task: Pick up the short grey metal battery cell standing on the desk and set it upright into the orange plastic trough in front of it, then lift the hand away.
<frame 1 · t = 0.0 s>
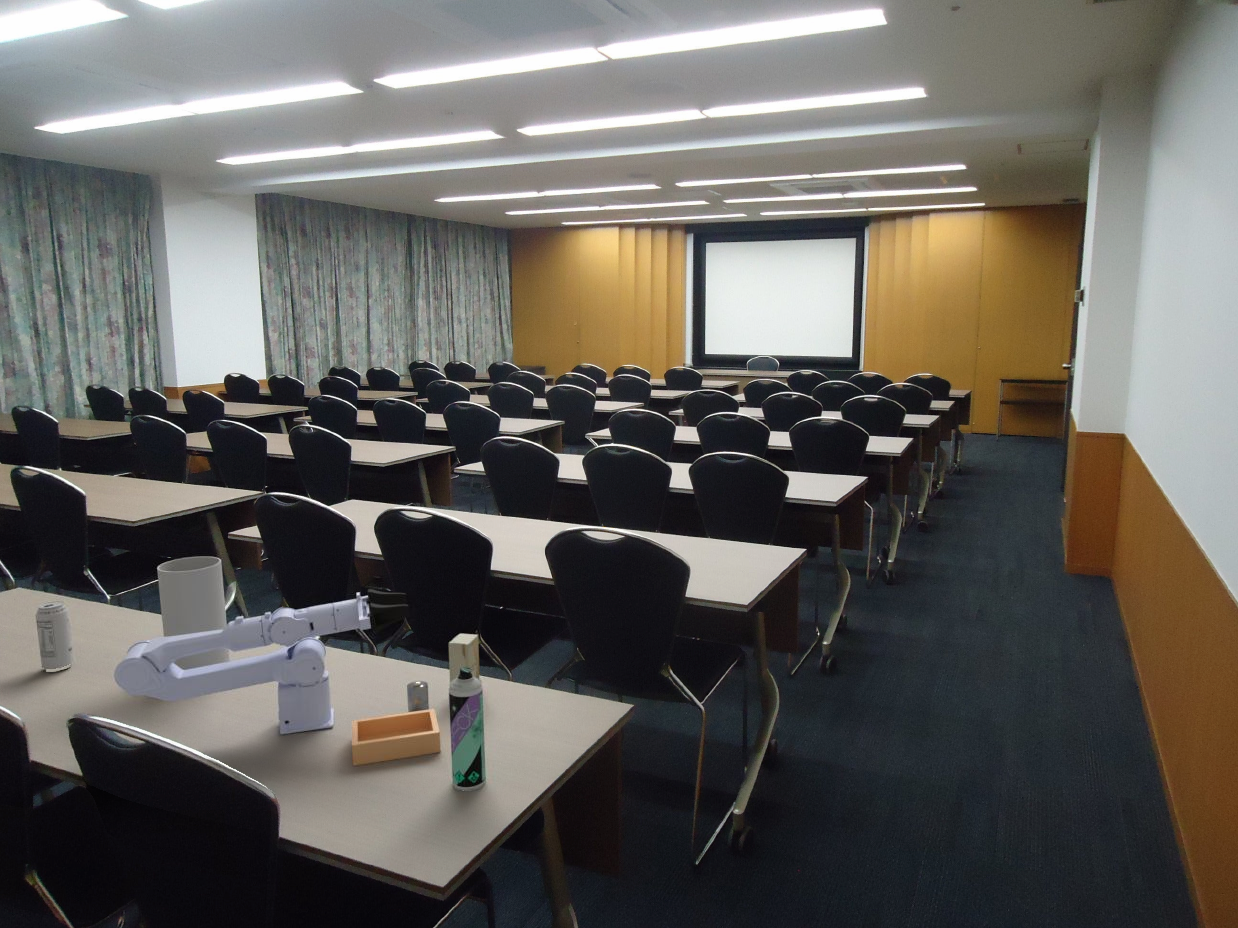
hand: (407, 604, 164), 22 cm above the table, tool horizontal, fingers open, 7 cm apart
skincare box: (465, 695, 173), on the table
energy drink can: (58, 669, 189), on the table
cell: (418, 713, 165), on the table
cylinder vase: (199, 673, 186), on the table
spray can: (469, 783, 139), on the table
trough: (396, 745, 152), on the table
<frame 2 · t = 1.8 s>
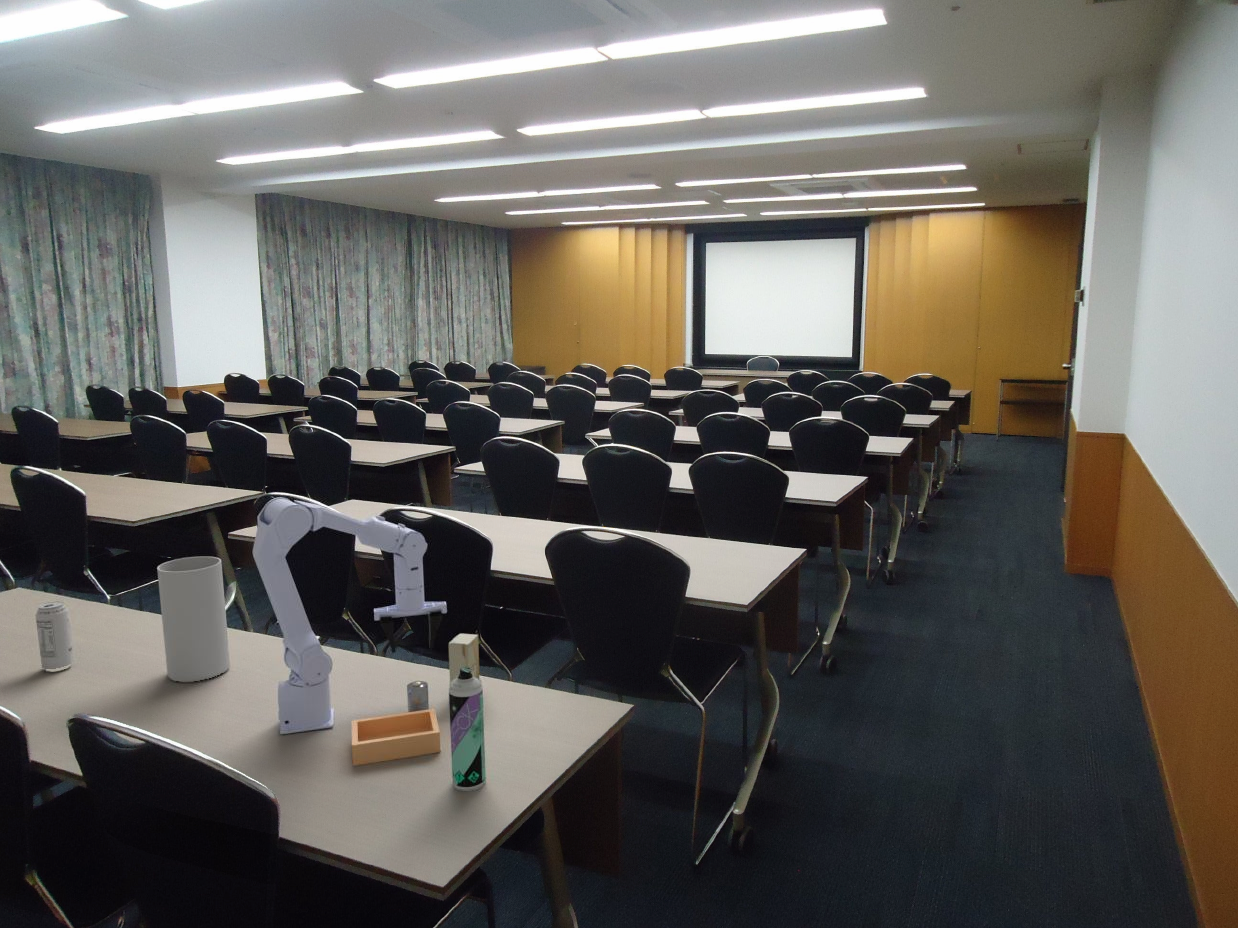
hand: (412, 648, 174), 9 cm above the table, tool pointing down, fingers open, 7 cm apart
nothing on the table moved.
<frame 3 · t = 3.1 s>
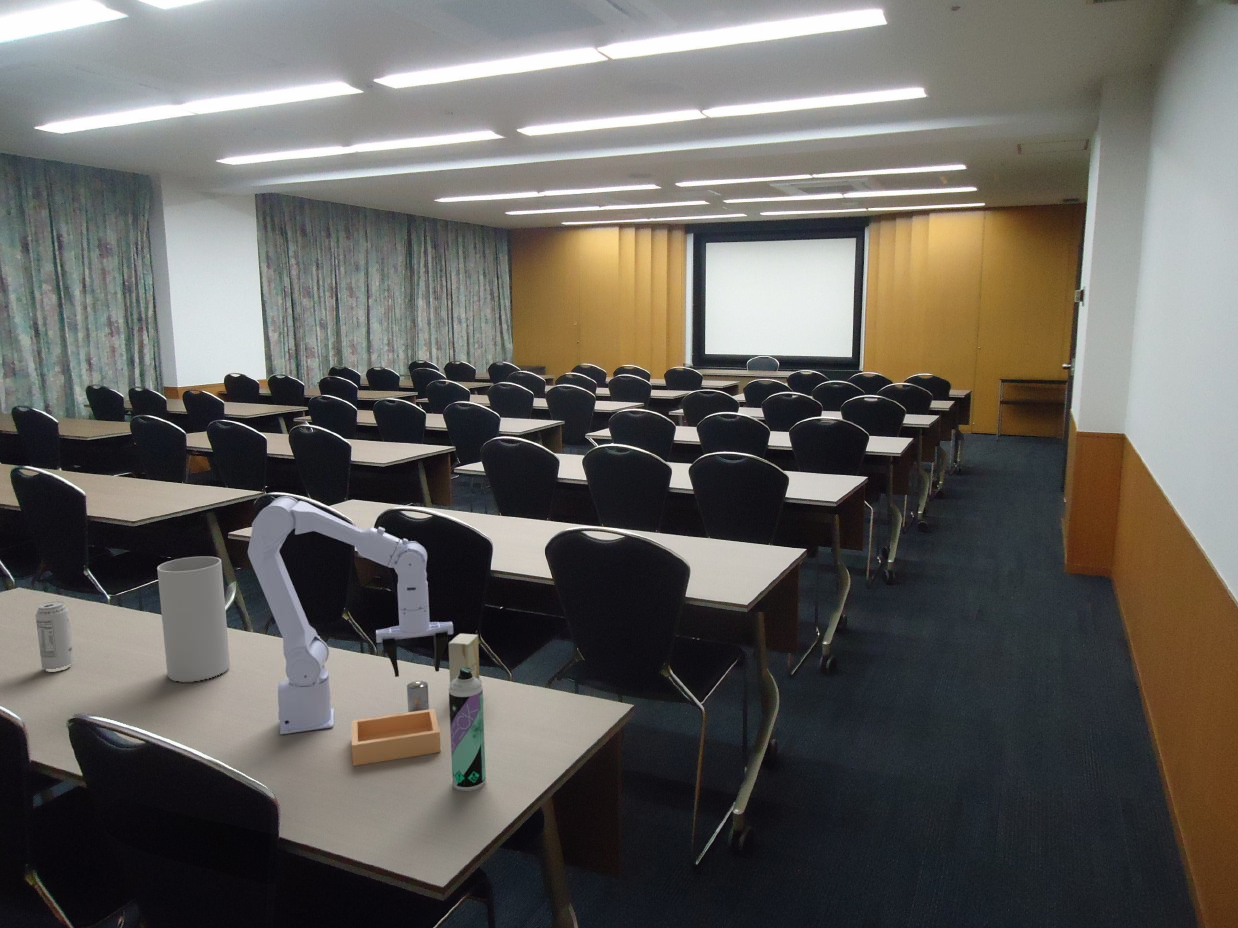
hand: (416, 672, 163), 9 cm above the table, tool pointing down, fingers open, 7 cm apart
nothing on the table moved.
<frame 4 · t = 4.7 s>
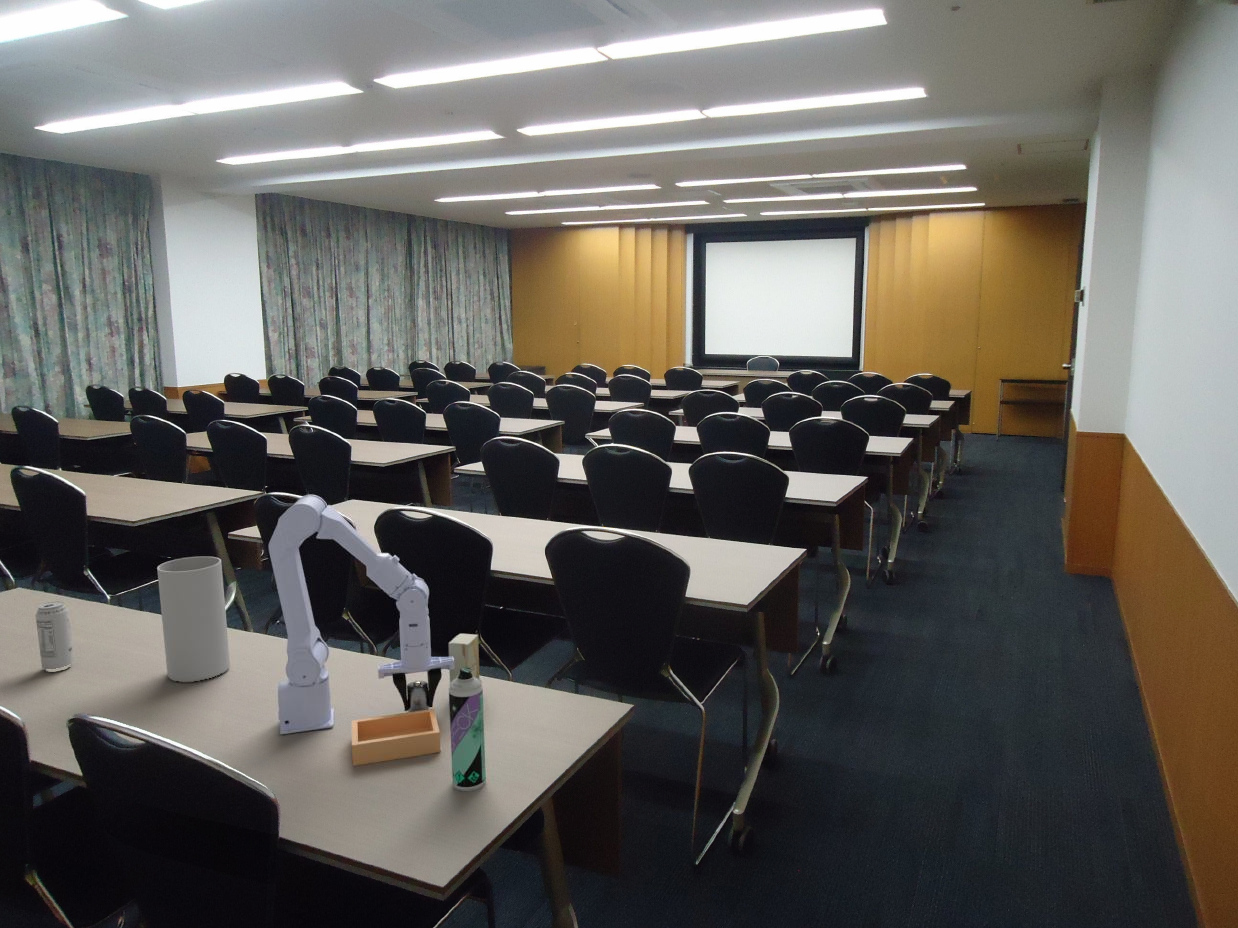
hand: (418, 706, 164), 1 cm above the table, tool pointing down, fingers closed on cell, 4 cm apart
cell: (418, 713, 165), on the table, touching gripper
everything else where it was.
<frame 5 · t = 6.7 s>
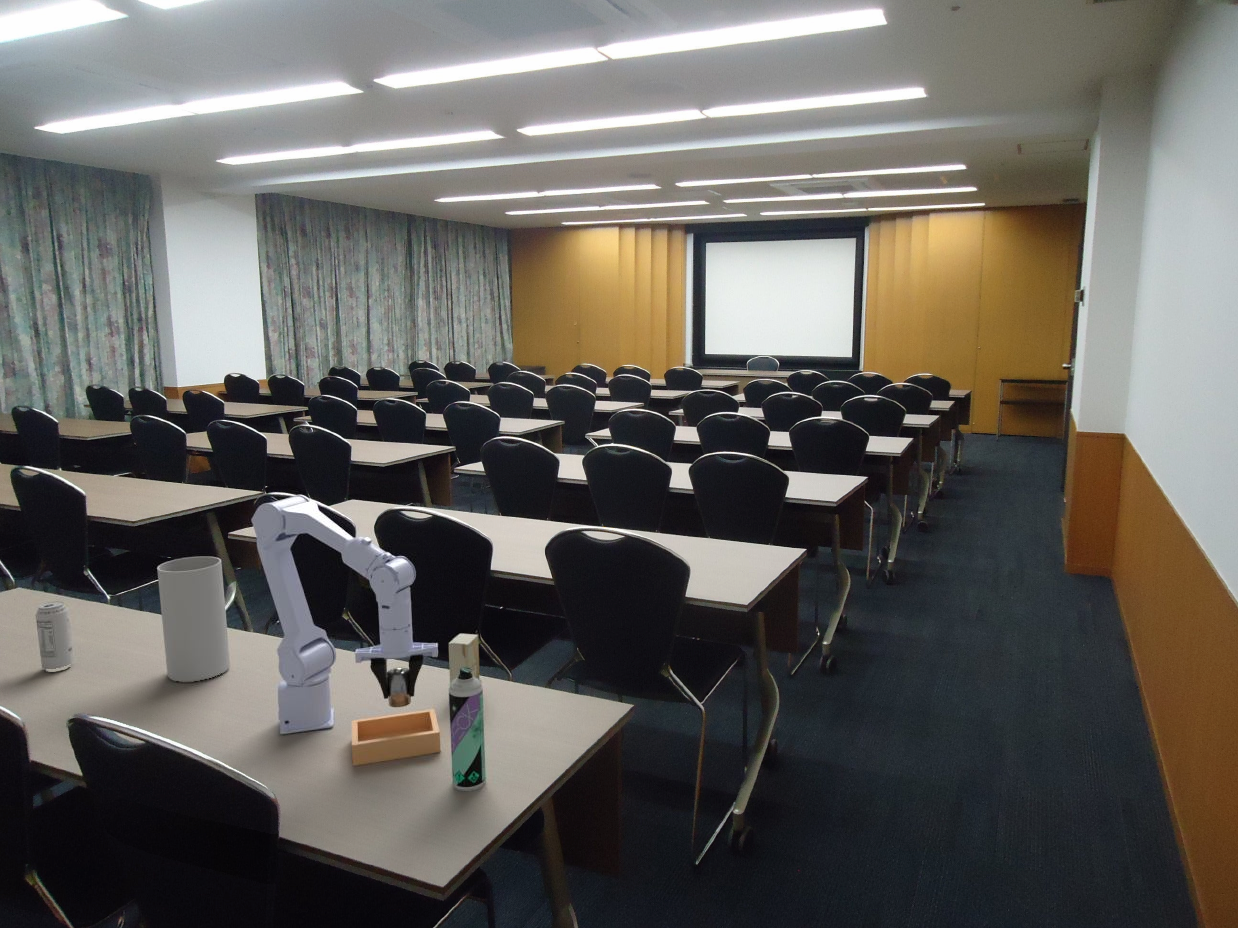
hand: (399, 695, 153), 8 cm above the table, tool pointing down, fingers closed on cell, 4 cm apart
cell: (399, 702, 154), point 7 cm above the table, touching gripper
everything else where it was.
when the fingers open (3 cm above the table, at t = 8.7 s): cell drops 1 cm, resting on trough.
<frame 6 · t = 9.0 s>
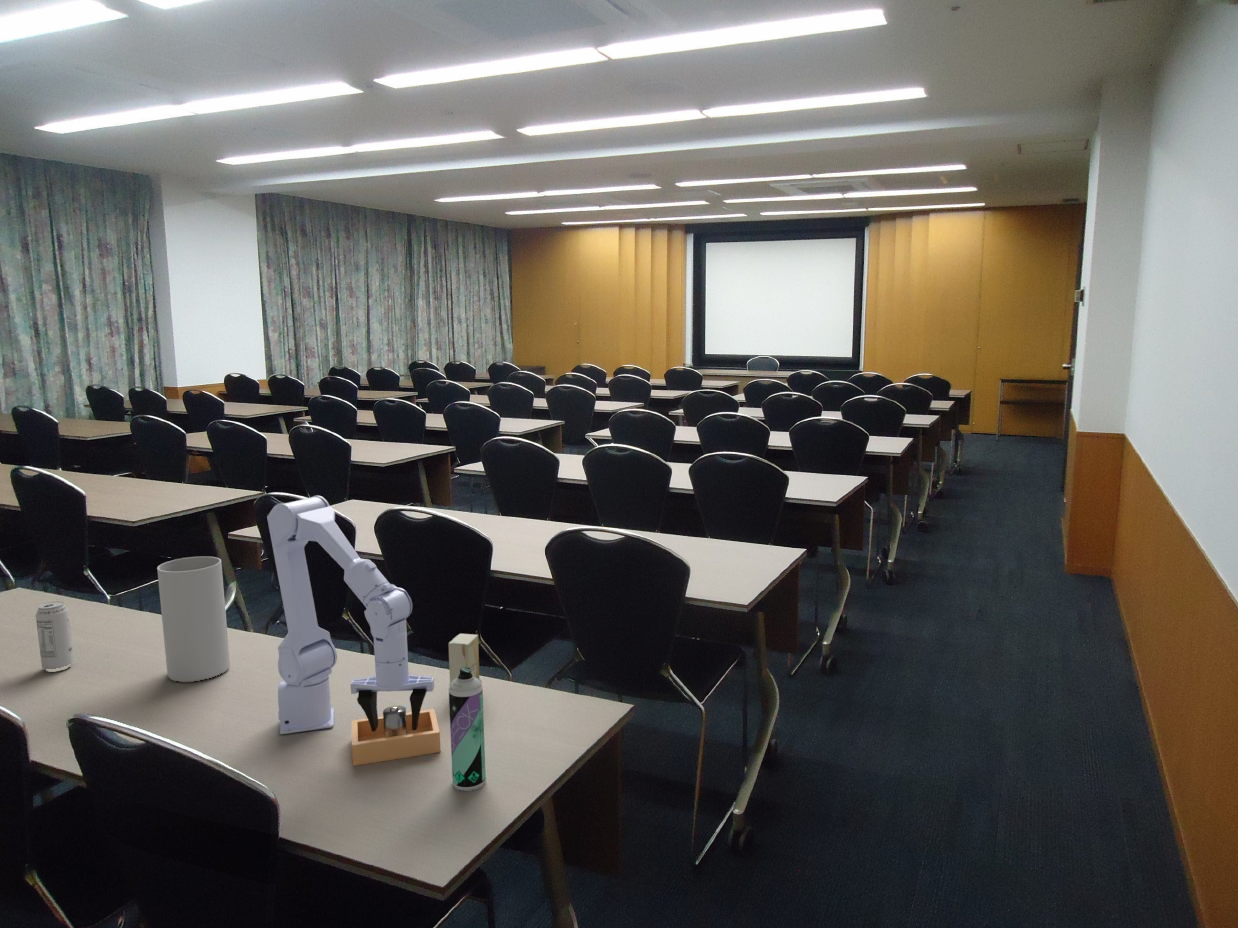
hand: (395, 728, 151), 3 cm above the table, tool pointing down, fingers open, 7 cm apart
cell: (396, 741, 152), point 1 cm above the table, touching trough
everything else where it was.
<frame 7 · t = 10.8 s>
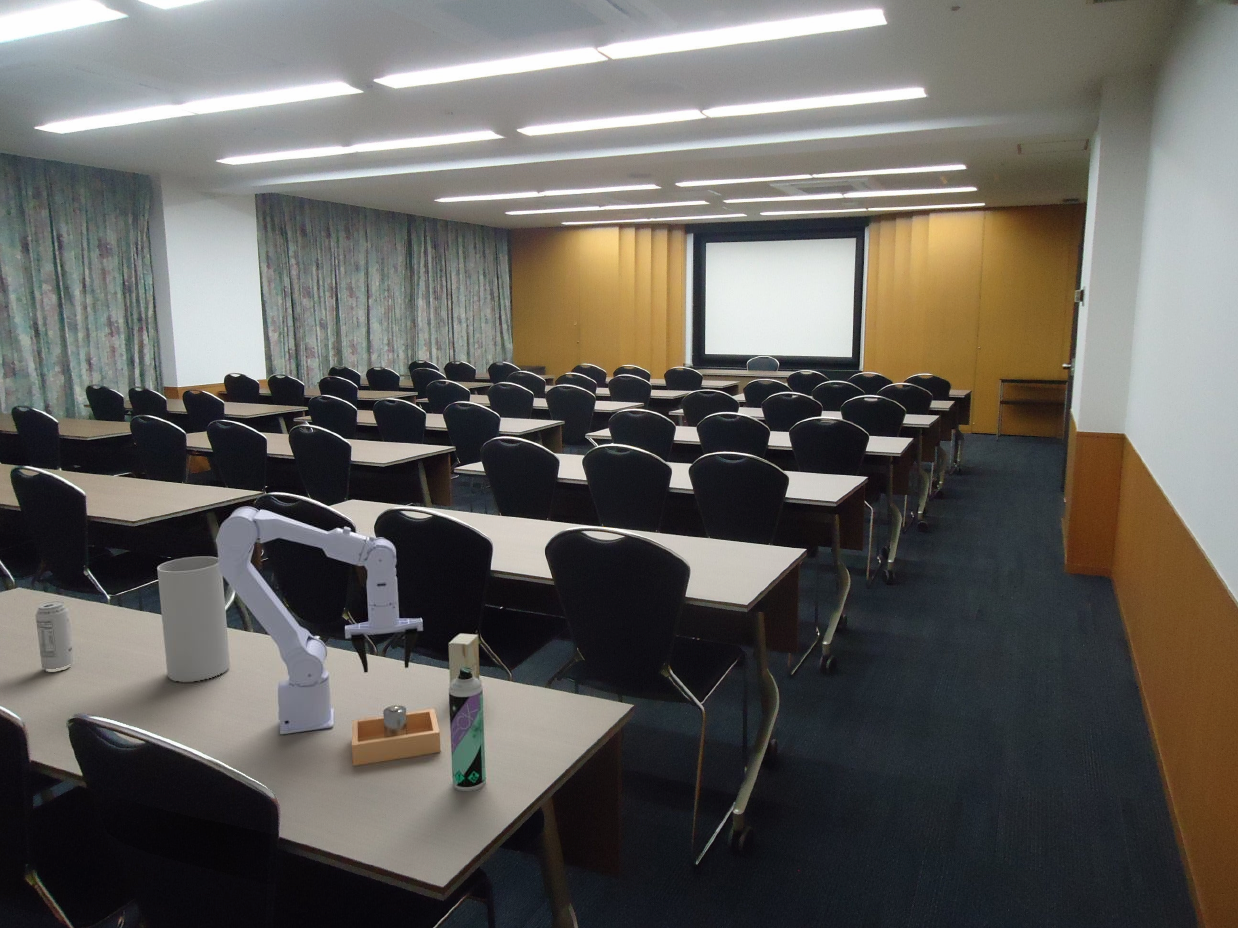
hand: (386, 668, 164), 9 cm above the table, tool pointing down, fingers open, 7 cm apart
nothing on the table moved.
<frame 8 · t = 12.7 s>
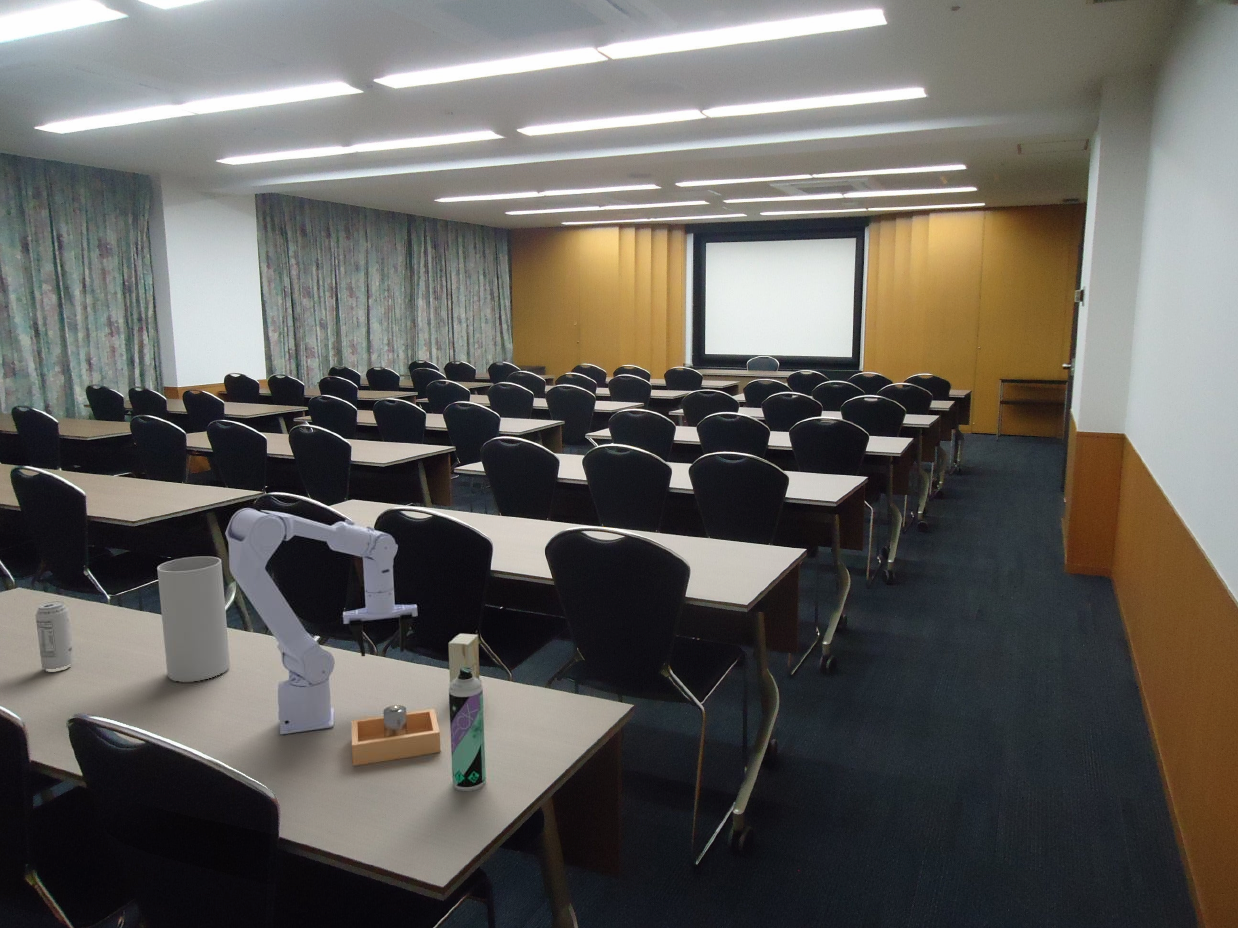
hand: (382, 652, 172), 9 cm above the table, tool pointing down, fingers open, 7 cm apart
nothing on the table moved.
at the end: cell inside the target area on the trough (0.1 cm from its centre), point 0.8 cm above the trough's base; cell tilted 1°; the gripper is holding nothing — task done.
